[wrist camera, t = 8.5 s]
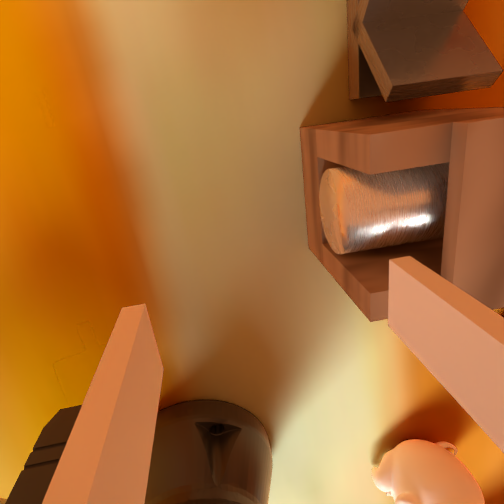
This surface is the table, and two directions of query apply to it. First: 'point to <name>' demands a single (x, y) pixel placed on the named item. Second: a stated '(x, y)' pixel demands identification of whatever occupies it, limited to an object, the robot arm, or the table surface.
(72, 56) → the table surface
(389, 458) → the figurine
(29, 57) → the table surface
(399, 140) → the brown open box
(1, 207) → the table surface
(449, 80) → the v block
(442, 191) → the axle
